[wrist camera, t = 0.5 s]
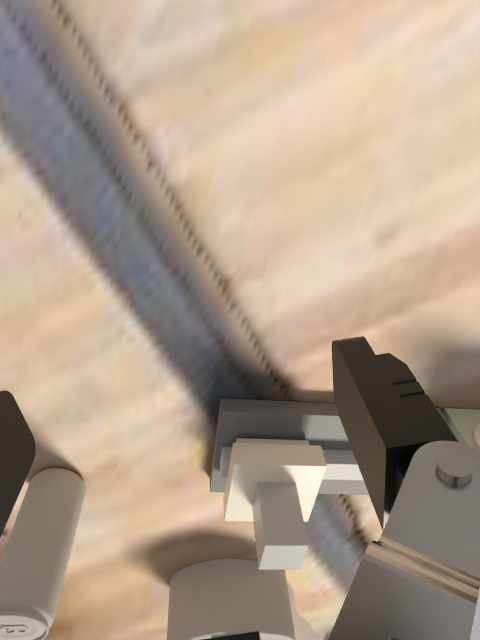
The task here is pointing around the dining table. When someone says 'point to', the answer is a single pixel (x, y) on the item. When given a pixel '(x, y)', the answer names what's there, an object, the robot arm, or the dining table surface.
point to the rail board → (288, 438)
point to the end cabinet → (464, 425)
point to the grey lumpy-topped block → (229, 601)
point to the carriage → (274, 495)
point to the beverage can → (39, 554)
